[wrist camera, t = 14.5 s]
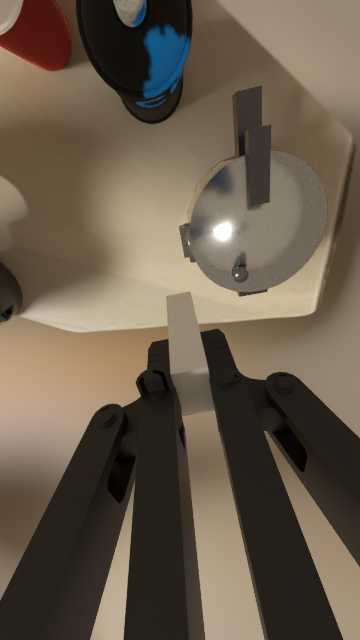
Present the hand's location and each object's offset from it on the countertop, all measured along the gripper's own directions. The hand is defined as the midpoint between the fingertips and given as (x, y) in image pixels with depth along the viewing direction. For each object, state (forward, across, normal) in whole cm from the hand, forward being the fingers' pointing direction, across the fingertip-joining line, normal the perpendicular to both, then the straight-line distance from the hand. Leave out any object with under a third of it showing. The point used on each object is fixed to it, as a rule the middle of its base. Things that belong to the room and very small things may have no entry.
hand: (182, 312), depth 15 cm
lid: (+19, +11, -1) cm, 22 cm away
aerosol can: (+29, +1, +16) cm, 33 cm away
